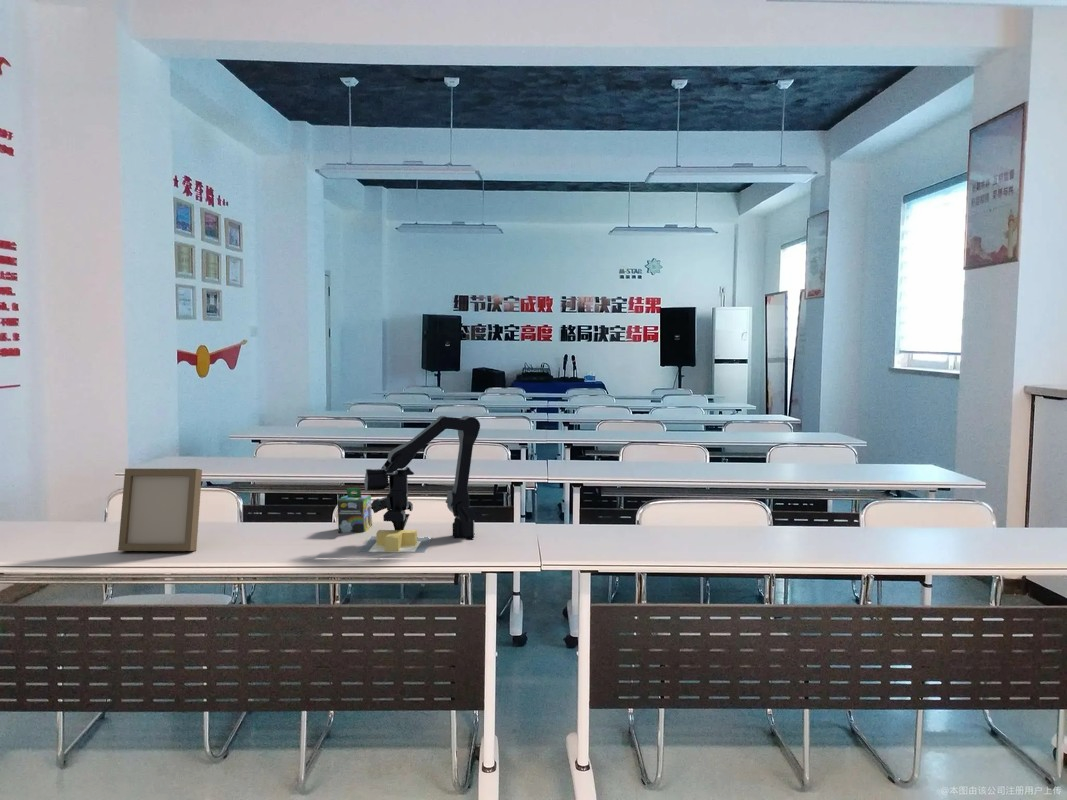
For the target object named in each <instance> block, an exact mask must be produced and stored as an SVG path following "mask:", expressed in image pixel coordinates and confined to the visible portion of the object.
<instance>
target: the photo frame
mask: <svg viewBox="0 0 1067 800" xmlns="http://www.w3.org/2000/svg"><path fill="white" fill-rule="evenodd" d="M202 474H203V469H200V468H124V476H123V477H124V478H123V490H122V499H121V500H122V503H121V513H120V522H119V523H120V525H119V535H118V545H117V546H118V547H117V548H118V549H117V552H133V551H134V552H186V551H187V552H195V550H196V551H197V549H198V548H197V547H198V545H197V544H198V532H199V521H200V520H199V519H200V517H199V516H200V507H201V506H200V503H201V491H202V477H203V476H202Z"/></svg>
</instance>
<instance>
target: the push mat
mask: <svg viewBox="0 0 1067 800" xmlns="http://www.w3.org/2000/svg"><path fill="white" fill-rule="evenodd" d="M432 540H433V538H432V539H429V538H428V537H424V538H418V537H417V544H416V545H415V546H402V547H401V548H400V549H399V551H385V546H377V541H376V536H371V537H370V538H369V539H368V540H367V542H365V544H363V545H362V547H361V548H360V549H359V550H358V551H357V553H370V554H371V553H375V554H376V553H378V554H379V553H381V554H382V553H391V554H392V553H397V554H399V553H401V554H403V553H405V554H406V553H408V554H409V553H415V554H416V553H419V554H421V553H425V552H426V550H427V549H428V547H429V545H430V543H431V541H432Z"/></svg>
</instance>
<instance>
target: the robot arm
mask: <svg viewBox="0 0 1067 800" xmlns="http://www.w3.org/2000/svg"><path fill="white" fill-rule="evenodd" d="M445 430H456V431H457V435H458V441H459V446H458V452H457V453H458V454H457V460H456V461H457V463H456V469H455V477H454V484H453V487H452V489H451V490H446V491H447V492H446V501H445V503H446V507H447V510H449V512H451V513H452V514H453V517H454V520H453V523H452V537H453V539H466V540H468V539H467V538H470V539H469V540H472V539H471V538H474V539H475V536H476V533H475V520H476V517H477V513H476V512H475V511H474V510H473V509H472V508H470V494H469V489H468V487H469V486H468V485H469V479H470V473H471V471H470V470H471V463H472V457H473V449H474V445H475V442H476V441H477V438H478V437H479V436H478V435H479V432H480V430H481V422H480V421H479V420H478V418H476V417H474V416H470V415H464V416H462V417H453V416H446V415H440V416H438V417H437V418H436V420H434V421H433V422H431V423H430V425H427V427H425V428H424V429H422V431H420V432H419V433H418V434H417V435H415V436H414V437H413V438H412V439H410V440H409V441H407V442H405V443H403V444H400V445H398V446H397V447H395V448H393V449H391V450H390V451H389V453H388V454H387V460H386V461H385V462H384V464H383V465H382V467H381V468H377V469H376V468H375V469H371V468H367V469H365V476H364V483H363V484H364V490H365V491H366V492H371V491H373V492H374V491H376V492H377V491H385V489H387V488H388V487H389V489H388V493H387V495H386V496H385V497H382V498H376V499H373V500H372V501H371V510H372V512H373V514H376V513H378V512H380V511H383V510H385V509H386V512H384V514H383V517H382V518H383V519H382V520H383V522H391V523H392V524H393V530H405V527H406V525H407V523H408V520H409V517H410V516H411V515H410V514H409V513H406V510H407V511H409V512H413V508H414V507H413V506H414V505H413V503H412V502H411V501H410V500H409V499H408V496H409V494H410V493H409V490H408V484H409V483H408V476H413V475H414V474H415V472H413V471H412V470H411V468H410V467H409V466H408V465H409V464H410V463H411V462H412V460H413V459H414V458H415V456H416V455H417V454H418V453H419V452H420V450H422V449H423V448H424V447H426V446H427V445H428V444H429V443H430V442H431V441H433V440H434V439H436V437H438V436H439V435H440V434H442V433H443V432H444V431H445ZM474 535H475V536H474Z"/></svg>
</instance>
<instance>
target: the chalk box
mask: <svg viewBox="0 0 1067 800" xmlns="http://www.w3.org/2000/svg"><path fill="white" fill-rule="evenodd" d="M352 492H356V494H352ZM361 493H362V492H361V488H360V487H347V488H346V494H347V495H345V496H341V497H340V498H339V499H338V500H337V522H338V523H337V524H338V526H337V527H338V533H339V532H343V533H365V532H367V531H368V530H370V529H371V528H372V527H373V518H372V509H371V503H372V495H371V494H361ZM371 526H372V527H371ZM370 527H371V528H370ZM369 528H370V529H369ZM366 530H367V531H366Z"/></svg>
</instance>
